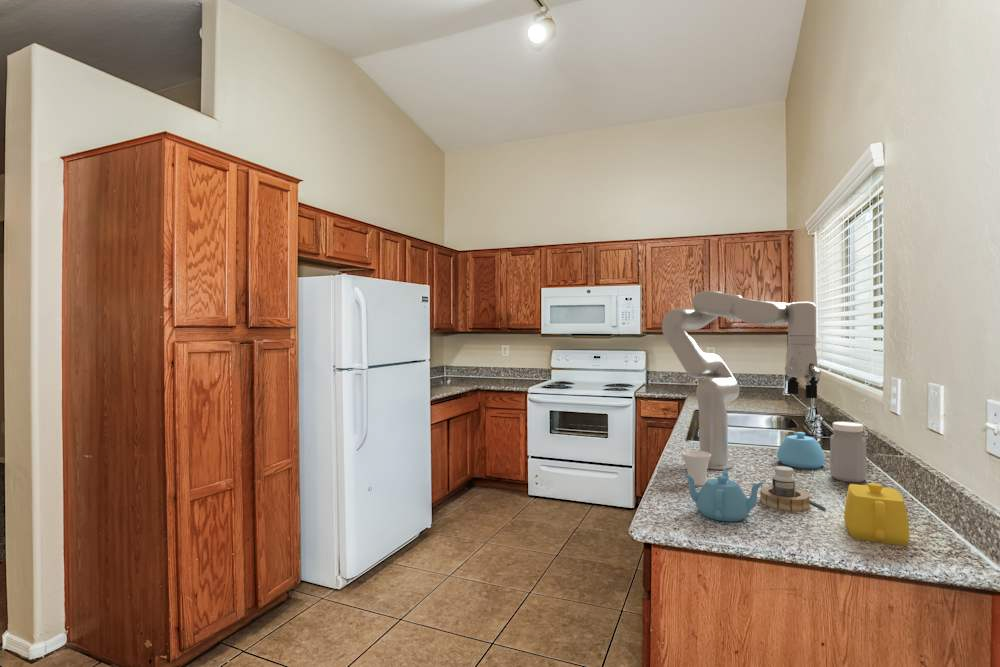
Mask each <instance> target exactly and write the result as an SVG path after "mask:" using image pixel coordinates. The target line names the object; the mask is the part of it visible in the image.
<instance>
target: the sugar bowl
mask: <svg viewBox="0 0 1000 667" xmlns="http://www.w3.org/2000/svg"><path fill="white" fill-rule="evenodd" d="M777 450H778V451H777V454H776V455H777V456H776V457H777V459H778V460H779V462H780V463H781V464H783V466H784V465H785V466H786V467H790V468H792V467H793V468H798V469H808V470H809V469H819V468H822V467H823V465H825V463H826V457H825V453H824V450H823V449H822V446H821V445H820V444H819V443H818V441H817V440H816V438H815V437H813V436H807V435H806V433H805V432H803V431H797V432H795V435H794V434H793V435H792V434H791V435H788V436H786V437H785V438H784V439H783V441H782V442H781V444H780V445H779V447H778V449H777Z"/></svg>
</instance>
